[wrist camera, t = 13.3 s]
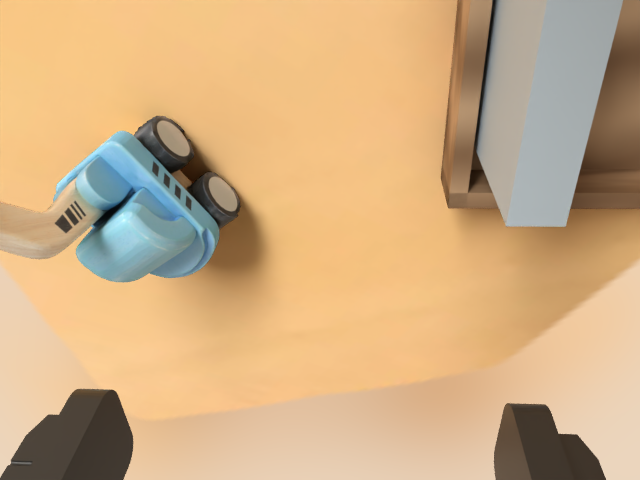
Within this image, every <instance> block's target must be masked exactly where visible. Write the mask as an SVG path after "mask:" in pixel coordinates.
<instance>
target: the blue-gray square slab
mask: <svg viewBox="0 0 640 480" xmlns="http://www.w3.org/2000/svg"><path fill="white" fill-rule="evenodd" d="M622 3H623V0H493V1H492V9H491V17H490V25H489V32H488V40H487V48H486V56H485V63H484V71H483V79H482V87H481V94H480V102H479V110H478V118H477V125H476V133H475V141H474V147H475V149H476V152H477V154H478V157H479V160H480V162H481V165H482V167H483V170H484V172H485V175H486V177H487V180H488V182H489V185H490V187H491V190H492V192H493V195H494V197H495V200H496V202H497V205H498V207H499V210H500V212H501V215H502V217H503V220H504V222H505V225H506V226H537V227H566V223H567V219H568V215H569V211H570V208H571V204H572V200H573V196H574V192H575V188H576V184H577V180H578V176H579V172H580V168H581V164H582V160H583V156H584V153H585V149H586V145H587V141H588V137H589V133H590V129H591V125H592V121H593V117H594V113H595V109H596V105H597V101H598V98H599V94H600V90H601V86H602V82H603V78H604V74H605V70H606V66H607V62H608V58H609V54H610V50H611V46H612V43H613V39H614V35H615V31H616V27H617V23H618V19H619V15H620V11H621V7H622Z"/></svg>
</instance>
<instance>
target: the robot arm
mask: <svg viewBox="0 0 640 480" xmlns="http://www.w3.org/2000/svg"><path fill="white" fill-rule="evenodd" d="M132 451H133V435H132V432H131V430H130V426H129V424H128V421H127V418H126V416H125V413H124V410H123V408H122V405H121V402H120V400H119V397H118V395H117V393H116V391H114V390H102V389H77V390H75V391H74V392H73V393H72V394H71V395H70V397H69V398H68V400H67V402H66V404H65V406H64V407H63V409H62V411H61V412H60V414H59V415H47V416H46V417H45V418H44V419H43V420H42V421H41V422H40V423H39V424H38V425H37V426H36V427H35V428H34V429H33V430H31V431H30V432H29V433H28V434H27V435H26V436H25V438H24V440H23V442H22V443H21V445H20V446H19V448H18V450H17V451H16V453H15V455H14V456H13V458H12V459H11V464H10V465H8V466H7V468H6V469H5V471H4V473H3V474H2V476H1V478H0V480H123V479H124V476H125V474H126V471H127V469H128V467H129V464H130V460H131V457H132ZM494 468H495V477H496V480H606V478H605V476H604V473H603V471H602V468H601V466H600V463H599V460H598V459H597V458H596V456H595V455H594V454H593V453H592V452H591V450H590V449H589V448H588V447H587V446H586V445H585V443H584V442H583V441H582V440H581V439H580V438H579V436H578V435H572V434H558V431H557V429H556V426H555V423H554V420H553V417H552V414H551V411H550V410H549V408H548V407H547V406H546V405H542V404H510V403H507V404H506V405H505V407H504V411H503V415H502V420H501V424H500V428H499V433H498V437H497V442H496V446H495V452H494Z"/></svg>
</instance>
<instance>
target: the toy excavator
mask: <svg viewBox="0 0 640 480" xmlns="http://www.w3.org/2000/svg"><path fill="white" fill-rule="evenodd" d="M181 131H182V132H184V131H183V129H182V128H181V127H180V126H178V125H177V124H176V123H174V122H173V121H172V120H171V119H168V118H166V117H164V116H156V117H153V118H152V119H151V120H149V121H147V123H145V124H144V125H143V126H141V127H139V128H138V131H137V132H135V135H134V136H133V135H132V134H130V133H129V132H126V131H119V132H117V133H115V134H114V135H112V136H111V137H110V138H109V139H108V140H107V141H105V142H104V143H103V144H102V145H101V146H99V147H98V148H97V149H96V150H95V151H94V152H92V153H91V154H90V155H89V156H88V157H87V158H85V159H84V160H83V161H82V162H81V163H79V164H78V165H77V166H76V167H75V168H74V169H73V170H71V171H70V172H69V173H68V174H67V175H66V176H65V177H64V178H63V179H62V180H61V181H60V182H59V183H58V184H57V186H56V194H55V196H54V199H53V202H54V203H53V204H52V205H51V206H50V207H49V208H48V209H47V211H45V212H35V211H32V210H28V209H25V208H21V207H18V206H14V205H11V204H7V203H4V202H0V250H2V251H5V252H8V253H12V254H15V255H19V256H23V257H27V258H31V259H47V258H50V257H53V256H55V255H57V254H58V253H60V252H61V251H62V250H64V249H65V248H66V247H68V246H69V245H70V244H71V243H72V242H73V241H75V240H76V239H77V238H78V237H79V236H80V235H82V234H83V233H84V232H85V231H86V230H87V229H88V228H89V227H90V226H91V227H93V228H92V230H91V231H90V232H89V233H88V234H87V235H86V236H85V238H84V239H83V240H82V241H81V243H80V244H79V245H78V246H77V249H76V255H77V258H78V260H79V261H80V262H81V263H82V264H83V265H84V266H85V267H86V268H88V269H89V270H90V271H92V272H93V273H94V274H96V275H97V276H99V277H101V278H104V279H106V280H109V281H114V282H131V281H135V280H138V279H140V278H142V277H144V276H145V275H147V274H148V273H150V274H153V275H156V276H160V277H164V278H176V277H184V276H187V275H190V274H193V273H195V272H196V271H198V270H200V269H201V268H202V267H204V266H205V265H206V264H207V262H208V261H209V260H210V258H211V256H212V255H213V253H214V250H215V248H216V246H217V243H218V241H219V229H220V228H222V227H223V226H225V225H226V224H228V223H229V222H230V221H232V220H233V219H235V218H236V217H237V216H238V214H237V213H238V212H239V210H240V207H241V206H240V201H239V198H238V195H237V194H236V192H235V190H234V188H232V187H230V186H229V185H228V184H227V183H226V182H225V181H224V180H222V179H221V178H220V177H219V176H218V174H216V173H212V172H207V173H205V174H204V175H203V176H201V177H200V178H199V179H198V180H196V181H195V182H194V183H192V182H191V181H190V180H189V179H188V178H187V177H186V176H185V175H184V174H183V173H182V172H181V171H180V169H182V168H183V167H185V166H186V165H187V164H188V162H189V161H190V160H191V159H192V158H193V157H194V151H193V148H192V146H191V143H190V140H189V139H188V140H186V138H185V137H184V135H183V134H182V132H181Z"/></svg>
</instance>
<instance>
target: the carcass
mask: <svg viewBox="0 0 640 480" xmlns="http://www.w3.org/2000/svg"><path fill="white" fill-rule="evenodd" d="M492 1H493V0H458V3H457V14H456V24H455V35H454V45H453V56H452V66H451V77H450V87H449V98H448V108H447V119H446V129H445V139H444V150H443V160H442V171H441V181H442V185H443V189H444V193H445V197H446V201H447V205H448V208H499V207H498V205H497V202H496V200H495V197H494V195H493V192H492V190H491V187H490V185H489V182H488V180H487V177H486V175H485V172H484V170H483V167H482V165H481V162H480V160H479V157H478V154H477V152H476V149H475V147H474V141H475V133H476V125H477V118H478V110H479V102H480V94H481V87H482V79H483V71H484V63H485V56H486V48H487V40H488V32H489V25H490V17H491V9H492ZM570 209H640V0H623V3H622V7H621V11H620V15H619V19H618V23H617V27H616V31H615V35H614V39H613V43H612V46H611V50H610V54H609V58H608V62H607V66H606V70H605V74H604V78H603V82H602V86H601V90H600V94H599V98H598V101H597V105H596V109H595V113H594V117H593V121H592V125H591V129H590V133H589V137H588V141H587V145H586V149H585V153H584V156H583V160H582V164H581V168H580V172H579V176H578V180H577V184H576V188H575V192H574V196H573V200H572V204H571V208H570Z"/></svg>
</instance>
